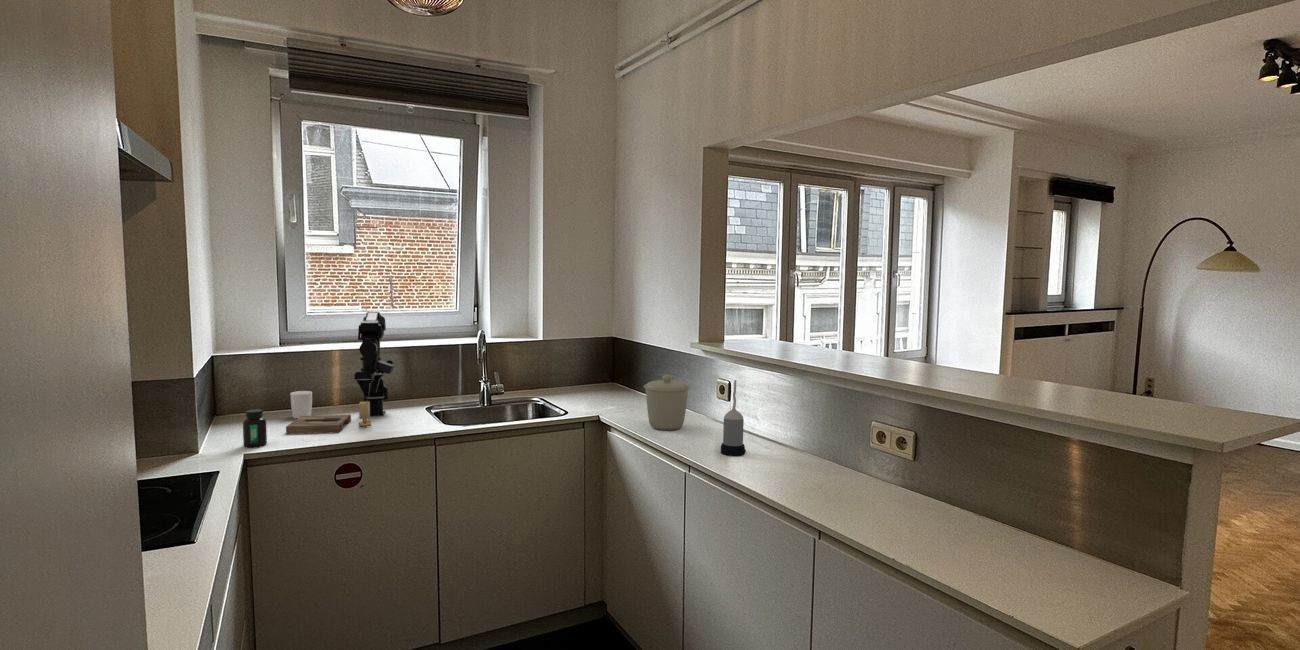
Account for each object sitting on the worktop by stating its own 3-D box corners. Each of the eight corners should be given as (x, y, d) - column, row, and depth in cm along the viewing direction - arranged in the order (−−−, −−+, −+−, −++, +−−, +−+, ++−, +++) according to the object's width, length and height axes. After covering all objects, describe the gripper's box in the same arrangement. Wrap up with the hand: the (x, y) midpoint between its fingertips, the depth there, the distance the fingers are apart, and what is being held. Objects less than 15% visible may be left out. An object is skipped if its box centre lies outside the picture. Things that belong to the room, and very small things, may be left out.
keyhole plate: (301, 422, 256) (301, 415, 255) (350, 421, 259) (350, 414, 259) (286, 434, 238) (285, 426, 238) (339, 432, 242) (339, 424, 242)
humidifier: (750, 454, 221) (752, 381, 219) (731, 457, 217) (733, 383, 215) (734, 448, 228) (735, 377, 226) (715, 451, 224) (717, 379, 221)
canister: (638, 423, 264) (639, 371, 262) (681, 421, 269) (682, 370, 267) (650, 434, 246) (651, 378, 245) (695, 431, 251) (696, 377, 250)
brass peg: (360, 424, 254) (359, 401, 253) (372, 424, 255) (371, 401, 254) (357, 427, 250) (356, 403, 249) (369, 427, 250) (369, 403, 250)
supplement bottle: (257, 448, 219) (256, 413, 218) (238, 447, 219) (237, 412, 218) (271, 443, 226) (270, 409, 225) (253, 442, 226) (251, 408, 225)
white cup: (291, 415, 267) (290, 391, 267) (312, 414, 271) (312, 390, 270) (290, 419, 260) (290, 395, 260) (313, 418, 264) (312, 393, 263)
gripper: (384, 356, 241) (385, 398, 241) (398, 352, 259) (399, 391, 260) (353, 357, 239) (354, 399, 240) (369, 352, 258) (370, 391, 259)
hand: (370, 395), depth 250 cm, fingers open, 9 cm apart
